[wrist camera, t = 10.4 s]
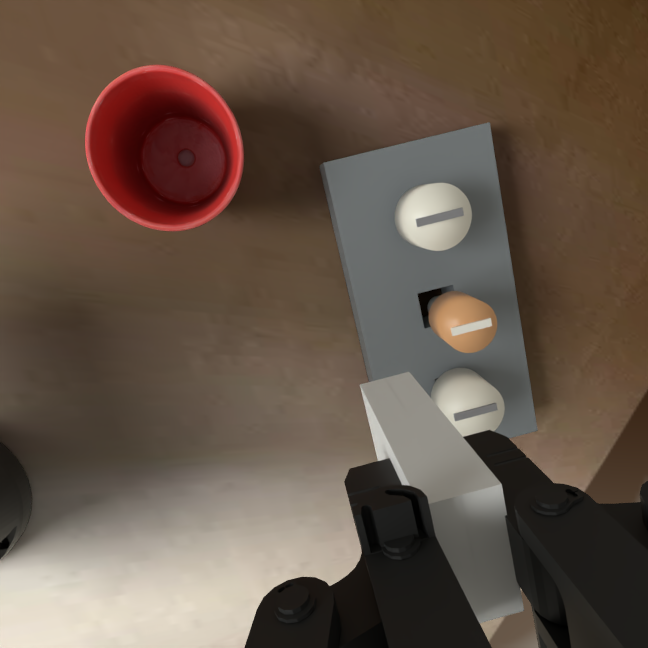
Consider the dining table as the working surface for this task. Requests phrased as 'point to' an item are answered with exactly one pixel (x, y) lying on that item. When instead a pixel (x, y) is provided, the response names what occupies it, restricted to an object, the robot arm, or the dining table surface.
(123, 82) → the flower pot
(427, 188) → the knob
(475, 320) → the pot knob
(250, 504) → the dining table surface
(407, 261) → the control box
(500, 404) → the knob
